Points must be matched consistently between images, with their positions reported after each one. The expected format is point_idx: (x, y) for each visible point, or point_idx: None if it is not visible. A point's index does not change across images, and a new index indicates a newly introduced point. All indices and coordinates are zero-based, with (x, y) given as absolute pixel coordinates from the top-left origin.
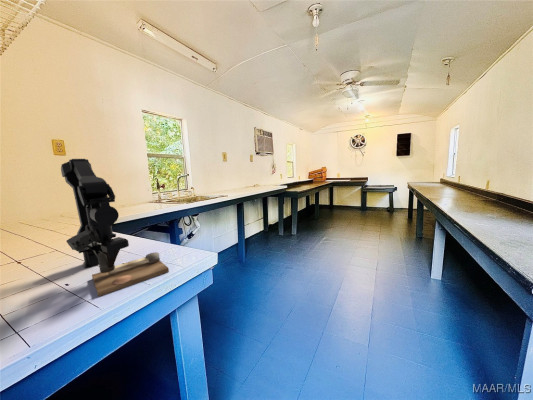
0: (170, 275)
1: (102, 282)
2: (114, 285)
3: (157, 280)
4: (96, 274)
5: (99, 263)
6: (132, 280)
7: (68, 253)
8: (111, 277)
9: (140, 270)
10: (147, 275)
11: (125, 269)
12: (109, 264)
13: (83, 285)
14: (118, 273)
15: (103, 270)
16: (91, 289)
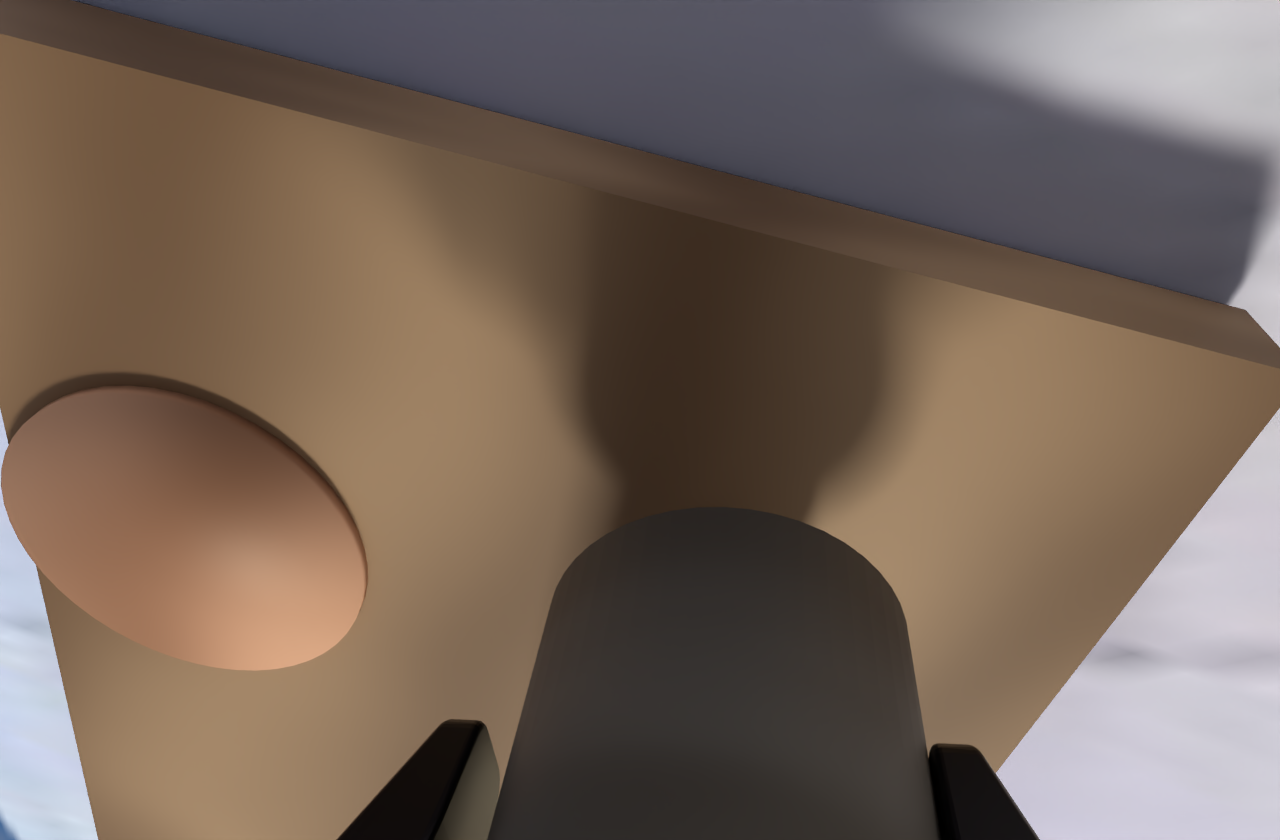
0: (49, 822)
1: (438, 305)
2: (29, 363)
3: (12, 713)
4: (1155, 436)
5: (679, 792)
6: (48, 594)
7: None
8: (547, 506)
9: None
10: (88, 751)
11: None
12: (361, 830)
13: (1148, 24)
14: None
15: (598, 588)
16: (642, 53)
